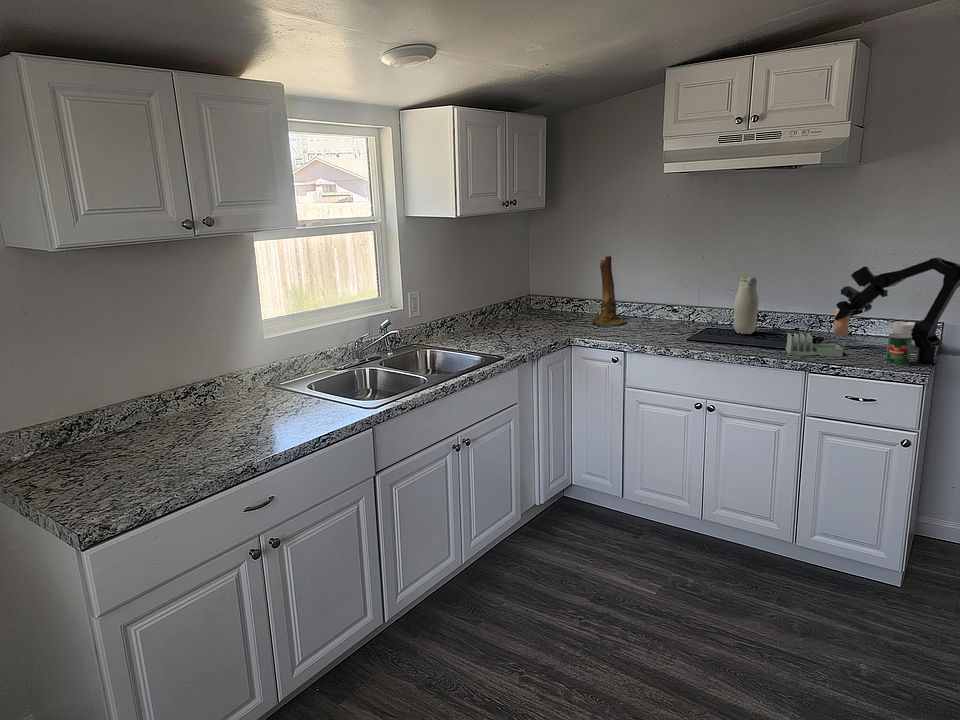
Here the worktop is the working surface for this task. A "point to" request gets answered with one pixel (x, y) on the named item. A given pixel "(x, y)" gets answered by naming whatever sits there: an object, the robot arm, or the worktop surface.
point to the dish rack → (810, 346)
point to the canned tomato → (898, 349)
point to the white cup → (903, 328)
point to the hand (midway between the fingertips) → (838, 318)
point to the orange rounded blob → (841, 325)
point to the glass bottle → (746, 306)
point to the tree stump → (608, 297)
